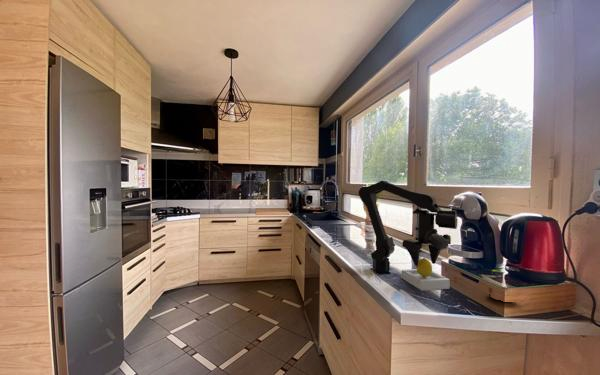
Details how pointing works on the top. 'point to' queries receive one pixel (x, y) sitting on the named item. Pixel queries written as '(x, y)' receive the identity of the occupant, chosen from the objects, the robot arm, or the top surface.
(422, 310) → the top surface
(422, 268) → the lemon
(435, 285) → the white square tray
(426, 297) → the top surface
